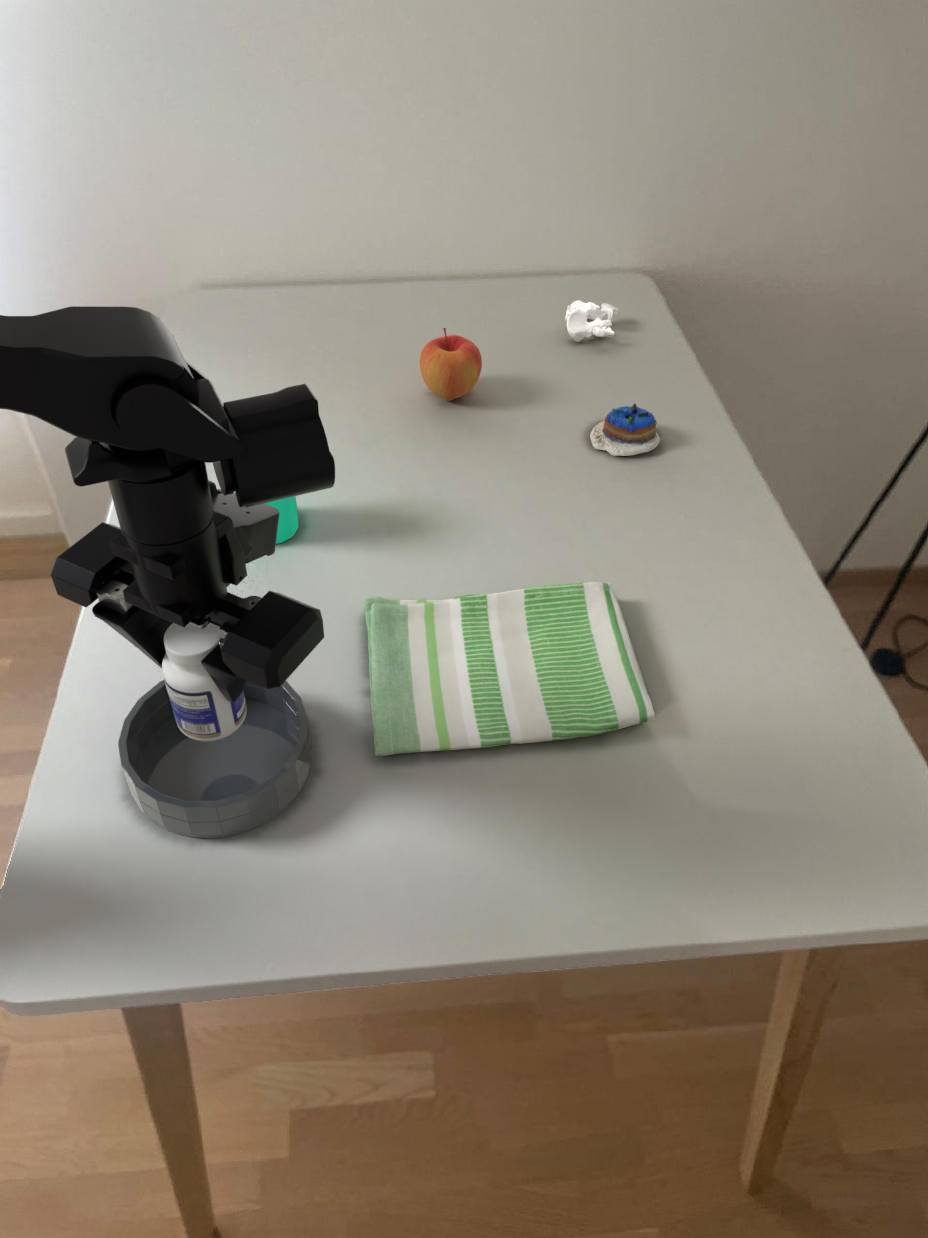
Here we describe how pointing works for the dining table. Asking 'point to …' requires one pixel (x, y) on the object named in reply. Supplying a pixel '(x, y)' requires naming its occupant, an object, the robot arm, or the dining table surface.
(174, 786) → the pan
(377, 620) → the dish towel
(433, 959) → the dining table surface
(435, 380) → the apple
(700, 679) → the dining table surface
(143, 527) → the robot arm
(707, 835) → the dining table surface
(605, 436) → the dessert
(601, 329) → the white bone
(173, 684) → the pill bottle
